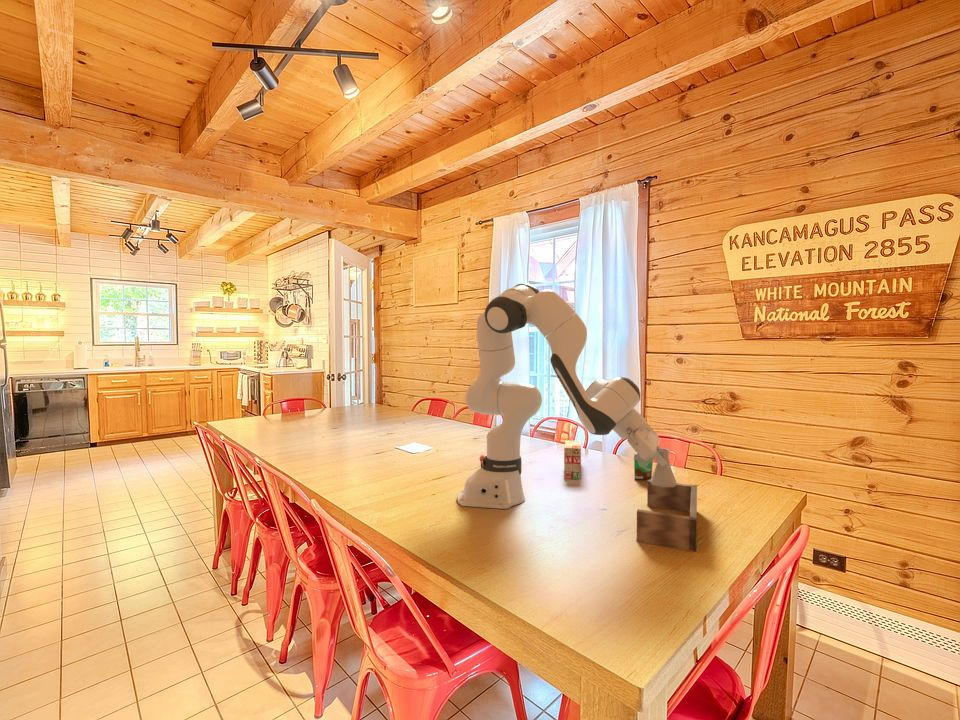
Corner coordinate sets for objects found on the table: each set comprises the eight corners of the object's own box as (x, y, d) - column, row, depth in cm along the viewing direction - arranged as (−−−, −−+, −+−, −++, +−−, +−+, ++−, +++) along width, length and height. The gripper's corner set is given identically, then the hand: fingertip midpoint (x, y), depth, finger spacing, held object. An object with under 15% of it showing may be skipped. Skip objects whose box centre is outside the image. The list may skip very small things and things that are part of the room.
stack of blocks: (565, 463, 193) (565, 435, 192) (580, 464, 192) (580, 435, 191) (564, 479, 172) (564, 447, 171) (580, 480, 171) (580, 447, 170)
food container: (650, 483, 165) (651, 456, 165) (633, 481, 168) (633, 454, 168) (657, 475, 176) (657, 449, 175) (641, 472, 179) (641, 447, 178)
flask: (677, 481, 131) (677, 447, 131) (677, 489, 125) (677, 453, 124) (650, 479, 134) (650, 445, 134) (649, 486, 128) (649, 451, 127)
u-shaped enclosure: (636, 541, 118) (636, 511, 118) (647, 504, 145) (648, 479, 144) (696, 551, 112) (696, 520, 112) (696, 511, 139) (697, 485, 138)
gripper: (634, 425, 122) (672, 464, 119) (641, 413, 141) (675, 447, 137) (616, 440, 124) (654, 479, 121) (626, 426, 143) (659, 460, 139)
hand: (665, 462), depth 129 cm, fingers closed on flask, 3 cm apart
